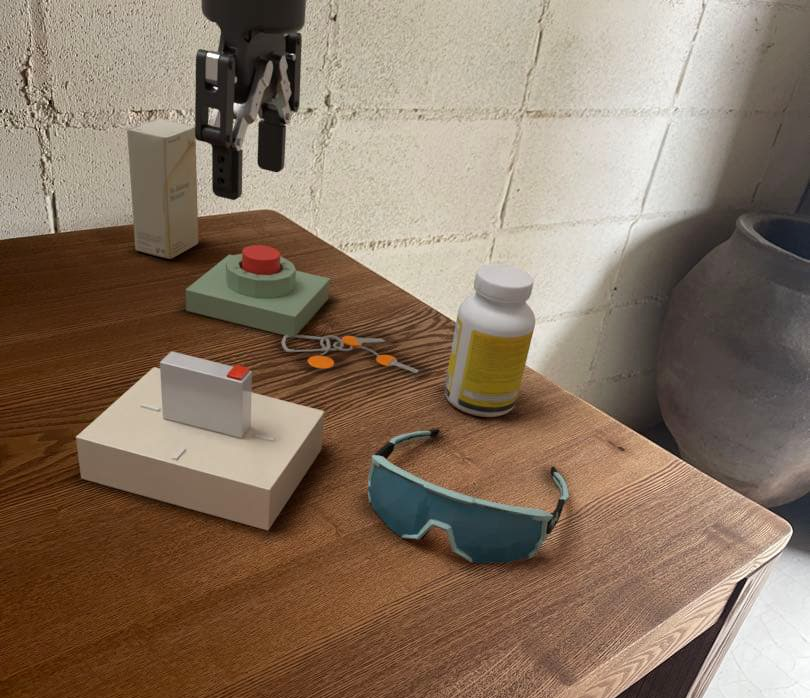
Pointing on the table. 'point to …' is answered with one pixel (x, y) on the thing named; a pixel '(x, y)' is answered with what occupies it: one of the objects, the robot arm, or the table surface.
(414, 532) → the sunglasses
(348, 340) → the key chain
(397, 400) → the table surface
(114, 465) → the base
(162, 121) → the cosmetic box
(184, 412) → the grey flat block
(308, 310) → the button box
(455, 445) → the table surface
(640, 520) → the table surface
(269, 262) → the button
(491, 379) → the pill bottle
